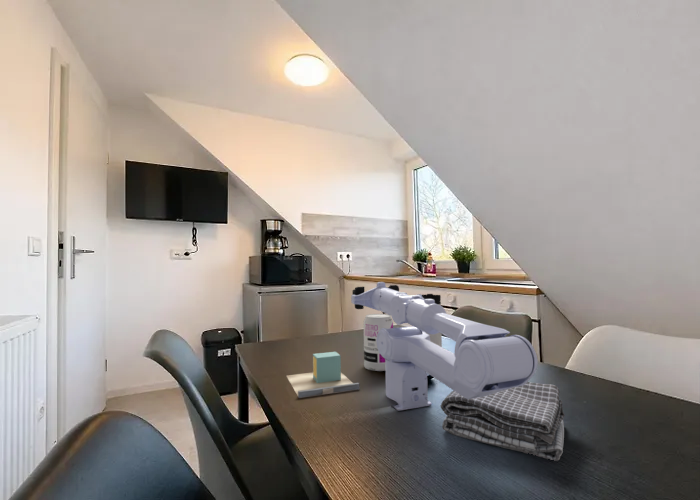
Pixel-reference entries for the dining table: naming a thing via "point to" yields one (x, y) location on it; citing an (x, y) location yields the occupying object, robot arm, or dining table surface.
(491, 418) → the towel
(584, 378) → the dining table surface
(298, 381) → the shelf board
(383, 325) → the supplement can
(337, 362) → the carton
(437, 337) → the travel mug
